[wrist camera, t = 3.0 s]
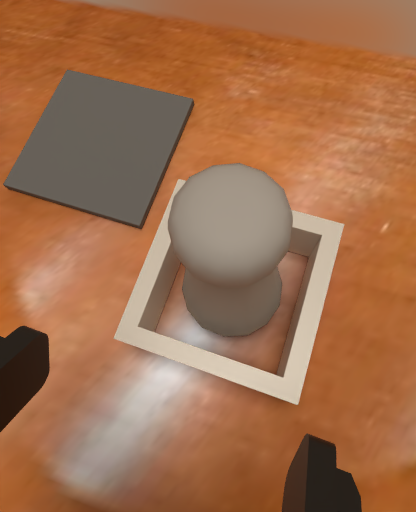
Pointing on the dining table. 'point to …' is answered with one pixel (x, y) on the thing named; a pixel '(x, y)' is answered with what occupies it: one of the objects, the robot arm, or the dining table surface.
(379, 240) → the dining table surface
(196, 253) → the salt shaker
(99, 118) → the mat
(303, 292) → the collar
